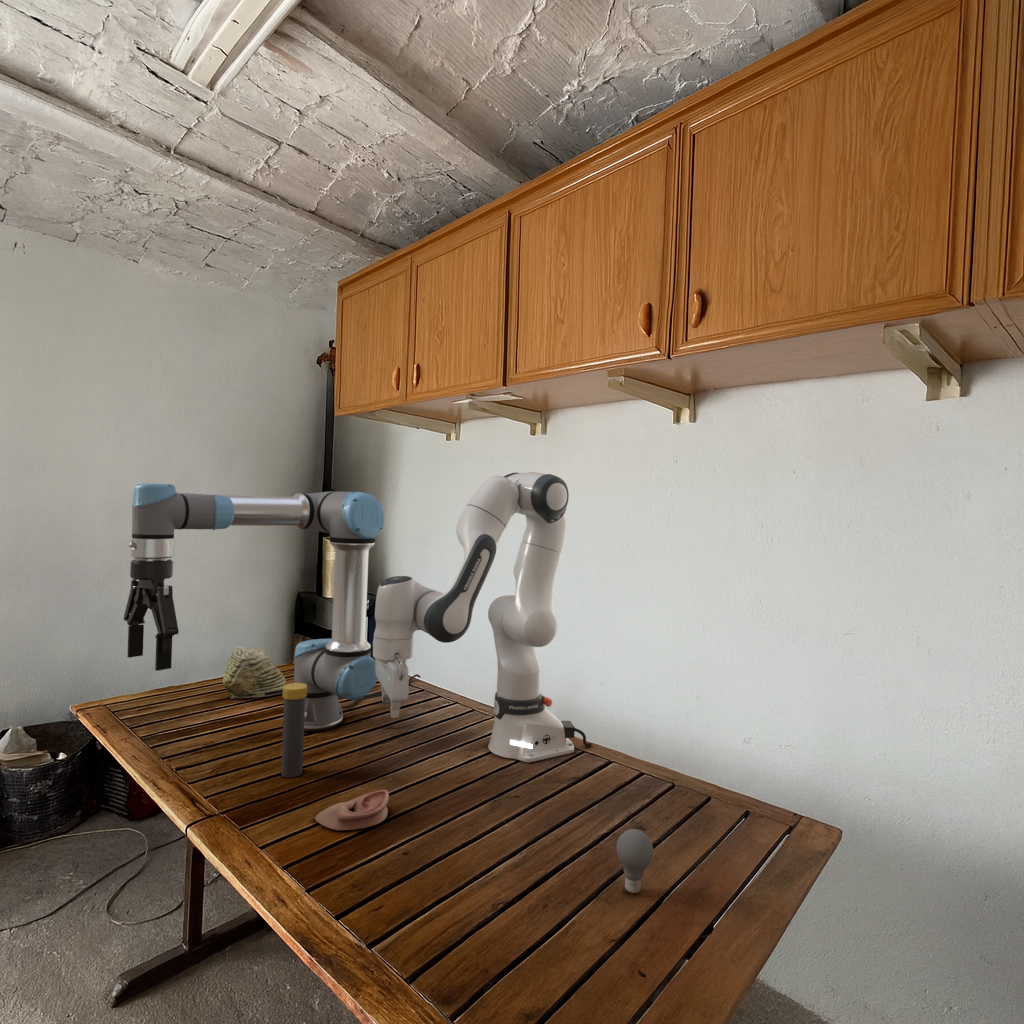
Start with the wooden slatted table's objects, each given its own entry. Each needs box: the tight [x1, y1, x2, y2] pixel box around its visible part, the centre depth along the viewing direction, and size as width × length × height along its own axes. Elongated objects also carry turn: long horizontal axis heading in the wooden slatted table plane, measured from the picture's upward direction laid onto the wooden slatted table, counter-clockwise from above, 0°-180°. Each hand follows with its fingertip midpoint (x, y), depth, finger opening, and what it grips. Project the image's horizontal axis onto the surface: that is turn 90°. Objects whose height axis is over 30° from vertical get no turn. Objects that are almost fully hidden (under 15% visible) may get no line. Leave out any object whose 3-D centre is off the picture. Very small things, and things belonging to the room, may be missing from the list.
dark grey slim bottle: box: [280, 698, 305, 779], centre depth 144 cm, size 4×4×20 cm
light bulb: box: [615, 828, 654, 894], centre depth 106 cm, size 6×6×10 cm
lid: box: [282, 682, 307, 700], centre depth 144 cm, size 5×5×2 cm
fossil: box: [222, 646, 287, 699], centre depth 198 cm, size 9×18×15 cm, turn 132°
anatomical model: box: [314, 789, 390, 831], centre depth 126 cm, size 13×4×12 cm
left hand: (148, 662), depth 129 cm, fingers open, 13 cm apart
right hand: (390, 709), depth 143 cm, fingers open, 8 cm apart
